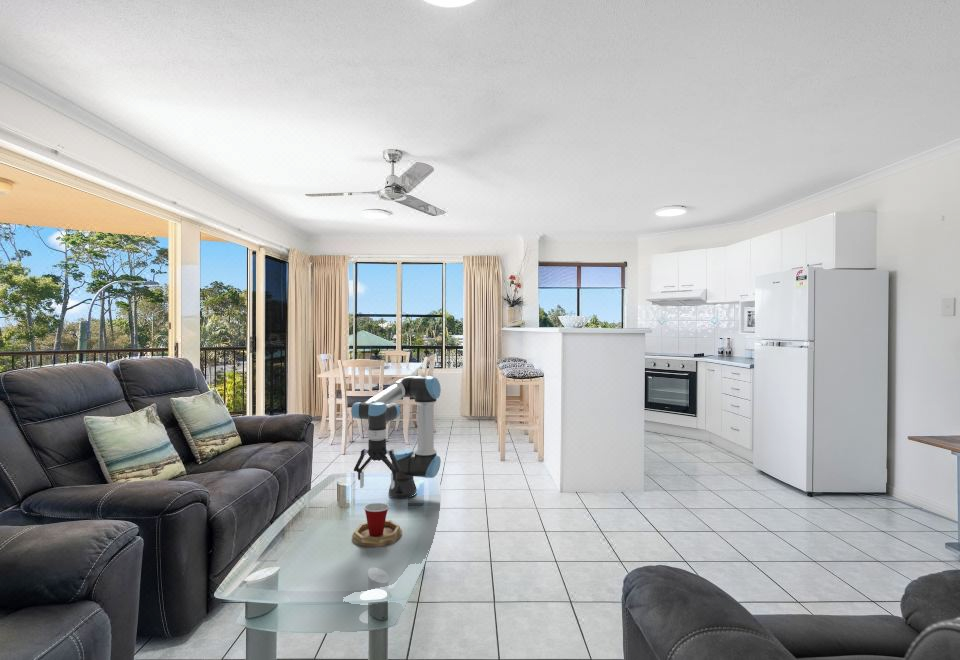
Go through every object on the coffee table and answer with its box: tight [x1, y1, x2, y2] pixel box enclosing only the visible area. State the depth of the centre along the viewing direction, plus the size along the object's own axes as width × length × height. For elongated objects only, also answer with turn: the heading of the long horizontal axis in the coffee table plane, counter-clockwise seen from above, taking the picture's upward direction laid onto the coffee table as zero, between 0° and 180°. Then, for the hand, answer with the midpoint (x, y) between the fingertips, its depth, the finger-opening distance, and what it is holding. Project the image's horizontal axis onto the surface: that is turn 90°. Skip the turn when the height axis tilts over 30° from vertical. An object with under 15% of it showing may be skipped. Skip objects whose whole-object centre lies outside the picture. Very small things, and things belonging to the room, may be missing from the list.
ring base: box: [351, 519, 403, 548], centre depth 193 cm, size 21×21×3 cm
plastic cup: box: [363, 502, 390, 537], centre depth 193 cm, size 11×11×12 cm
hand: (377, 487), depth 194 cm, fingers open, 13 cm apart
